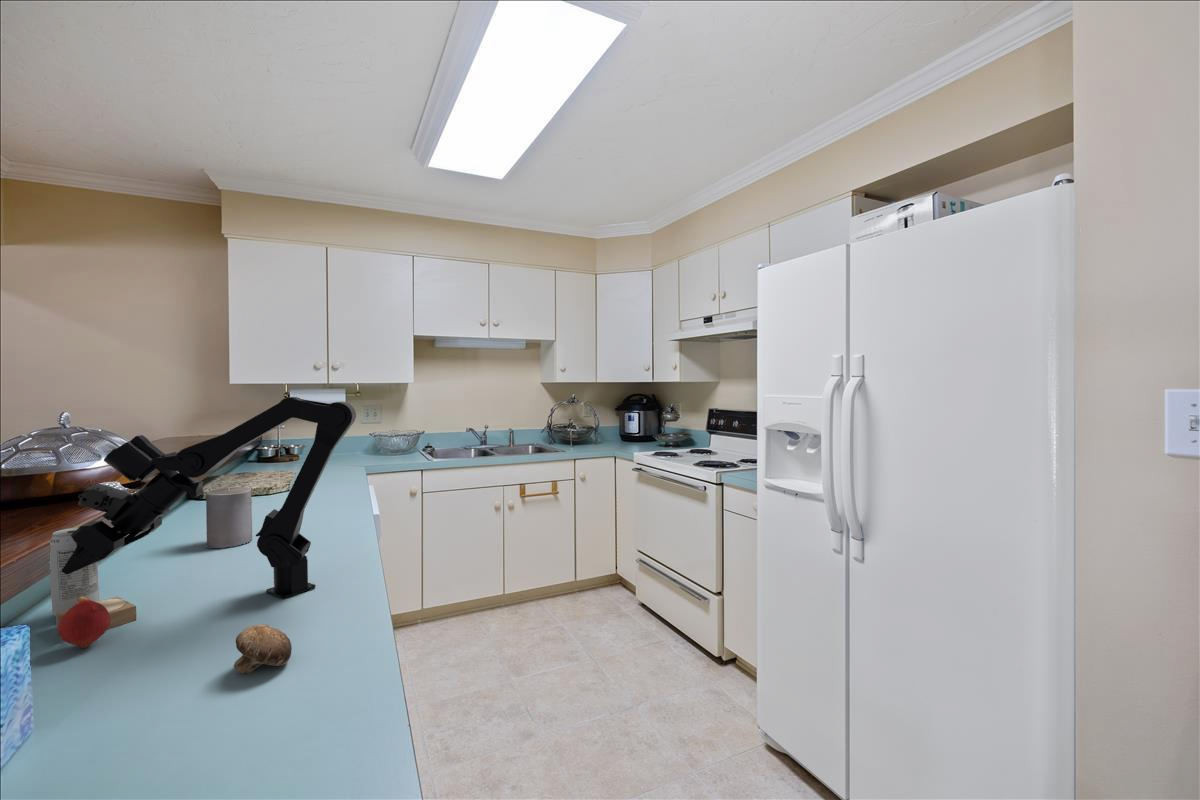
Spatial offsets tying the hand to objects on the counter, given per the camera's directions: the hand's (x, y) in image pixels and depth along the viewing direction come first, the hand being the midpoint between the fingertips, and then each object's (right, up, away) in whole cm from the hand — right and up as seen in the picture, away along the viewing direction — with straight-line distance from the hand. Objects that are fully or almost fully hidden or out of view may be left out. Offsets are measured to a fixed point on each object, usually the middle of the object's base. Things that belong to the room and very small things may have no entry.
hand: (80, 564), depth 94 cm
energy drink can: (-1, -9, 0) cm, 9 cm away
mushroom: (+44, -10, -17) cm, 48 cm away
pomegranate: (+12, -9, -12) cm, 20 cm away
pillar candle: (-3, -8, +42) cm, 43 cm away
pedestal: (+7, -9, -4) cm, 12 cm away
